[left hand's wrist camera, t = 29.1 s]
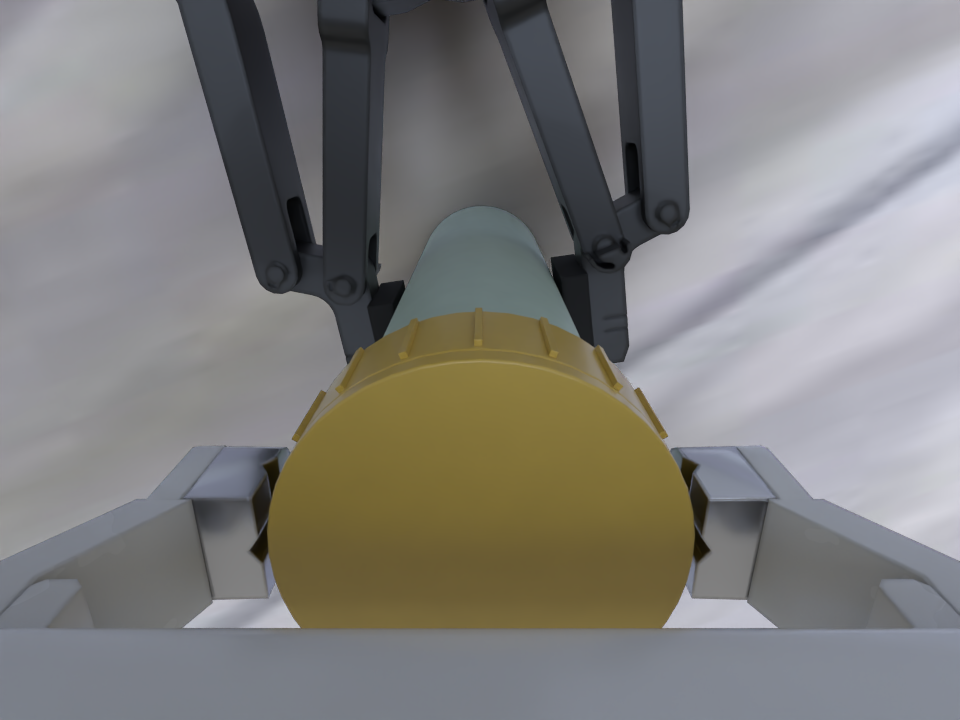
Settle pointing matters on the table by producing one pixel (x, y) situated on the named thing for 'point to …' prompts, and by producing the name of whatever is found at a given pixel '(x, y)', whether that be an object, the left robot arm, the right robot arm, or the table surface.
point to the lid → (480, 487)
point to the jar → (482, 272)
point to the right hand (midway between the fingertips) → (505, 459)
